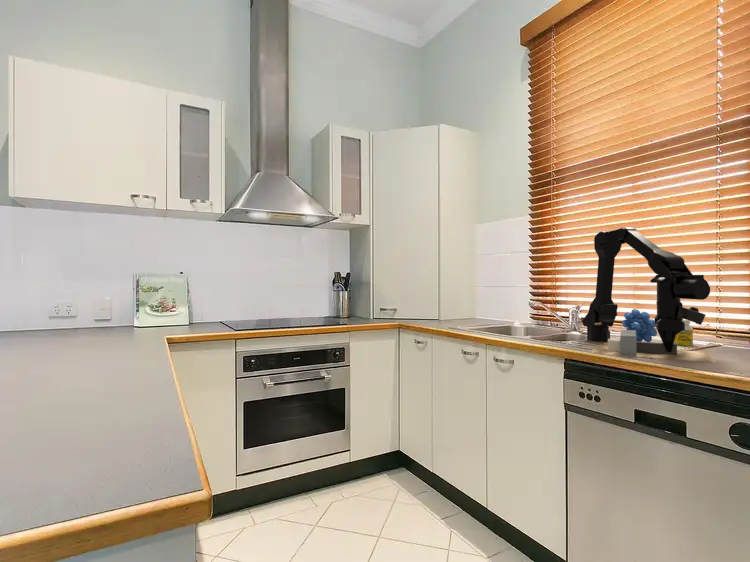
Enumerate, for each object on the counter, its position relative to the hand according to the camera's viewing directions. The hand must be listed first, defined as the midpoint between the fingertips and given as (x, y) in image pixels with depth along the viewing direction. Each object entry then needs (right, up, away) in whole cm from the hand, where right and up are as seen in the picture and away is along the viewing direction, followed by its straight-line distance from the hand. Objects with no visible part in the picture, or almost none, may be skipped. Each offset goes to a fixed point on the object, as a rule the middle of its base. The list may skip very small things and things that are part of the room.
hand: (668, 351), depth 124 cm
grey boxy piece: (-9, -1, +5) cm, 10 cm away
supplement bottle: (+16, -2, +17) cm, 23 cm away
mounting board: (-4, -2, +3) cm, 5 cm away
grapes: (+10, -2, +31) cm, 32 cm away
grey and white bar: (-6, -1, +4) cm, 7 cm away
